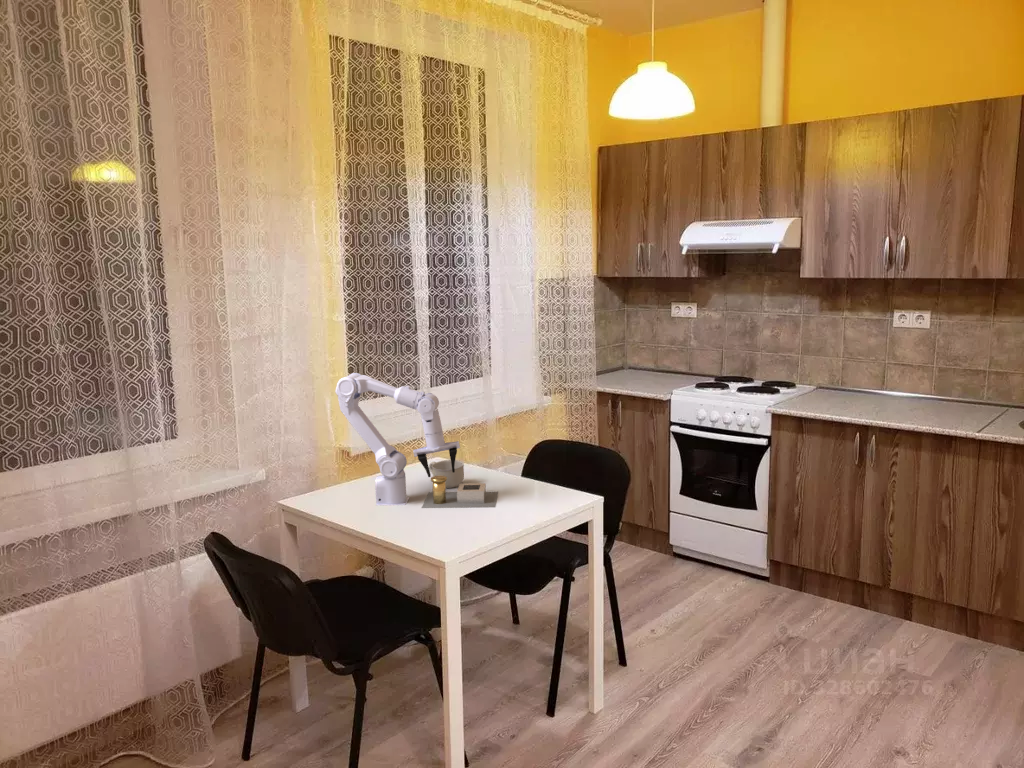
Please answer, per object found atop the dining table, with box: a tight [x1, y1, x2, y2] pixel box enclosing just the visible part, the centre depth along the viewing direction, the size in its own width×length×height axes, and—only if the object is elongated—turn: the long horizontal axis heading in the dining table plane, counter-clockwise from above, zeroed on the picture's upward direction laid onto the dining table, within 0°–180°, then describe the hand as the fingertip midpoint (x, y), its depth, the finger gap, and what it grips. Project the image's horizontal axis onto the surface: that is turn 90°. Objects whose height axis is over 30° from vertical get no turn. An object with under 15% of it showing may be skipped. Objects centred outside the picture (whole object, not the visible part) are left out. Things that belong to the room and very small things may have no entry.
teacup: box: [428, 459, 465, 489], centre depth 261 cm, size 14×11×8 cm
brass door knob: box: [430, 475, 447, 504], centre depth 241 cm, size 5×5×8 cm
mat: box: [421, 491, 499, 509], centre depth 244 cm, size 23×16×1 cm
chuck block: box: [456, 482, 487, 504], centre depth 244 cm, size 8×8×4 cm
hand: (441, 474), depth 240 cm, fingers open, 7 cm apart
